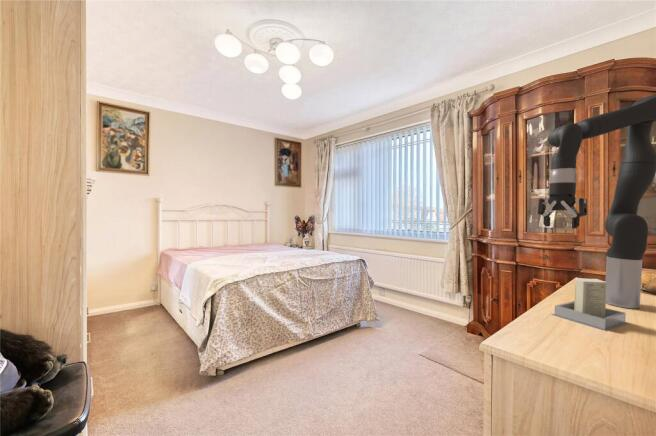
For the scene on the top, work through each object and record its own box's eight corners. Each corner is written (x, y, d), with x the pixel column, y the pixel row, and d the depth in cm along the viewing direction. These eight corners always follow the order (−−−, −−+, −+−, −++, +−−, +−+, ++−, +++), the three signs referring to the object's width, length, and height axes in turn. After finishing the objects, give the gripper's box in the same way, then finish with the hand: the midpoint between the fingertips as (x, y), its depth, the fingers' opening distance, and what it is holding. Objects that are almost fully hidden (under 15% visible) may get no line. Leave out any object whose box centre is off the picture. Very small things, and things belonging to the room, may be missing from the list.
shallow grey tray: (575, 309, 100) (575, 300, 100) (625, 322, 89) (625, 312, 89) (554, 314, 95) (554, 305, 94) (604, 329, 83) (605, 319, 83)
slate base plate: (573, 310, 101) (573, 308, 101) (629, 325, 88) (629, 323, 88) (550, 316, 95) (550, 314, 95) (606, 334, 82) (606, 331, 82)
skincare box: (595, 316, 93) (597, 278, 93) (605, 322, 89) (607, 282, 88) (572, 315, 94) (574, 277, 94) (581, 320, 90) (583, 281, 90)
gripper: (535, 183, 110) (533, 226, 111) (581, 180, 97) (578, 229, 98) (546, 183, 114) (544, 225, 114) (592, 181, 101) (590, 228, 101)
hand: (560, 227), depth 106 cm, fingers open, 8 cm apart
